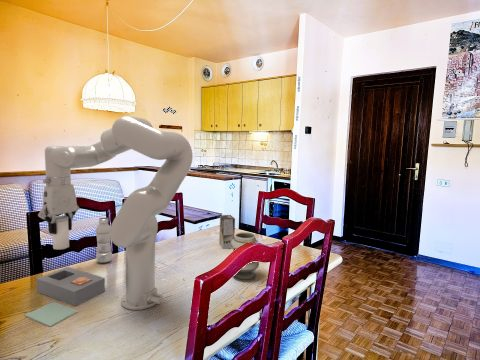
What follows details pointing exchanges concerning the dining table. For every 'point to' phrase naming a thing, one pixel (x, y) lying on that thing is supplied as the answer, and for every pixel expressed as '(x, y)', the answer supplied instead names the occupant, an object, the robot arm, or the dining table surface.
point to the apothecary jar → (246, 272)
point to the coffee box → (226, 231)
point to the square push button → (81, 281)
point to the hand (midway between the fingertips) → (60, 231)
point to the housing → (70, 286)
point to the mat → (51, 314)
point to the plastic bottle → (103, 241)
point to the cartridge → (61, 233)
